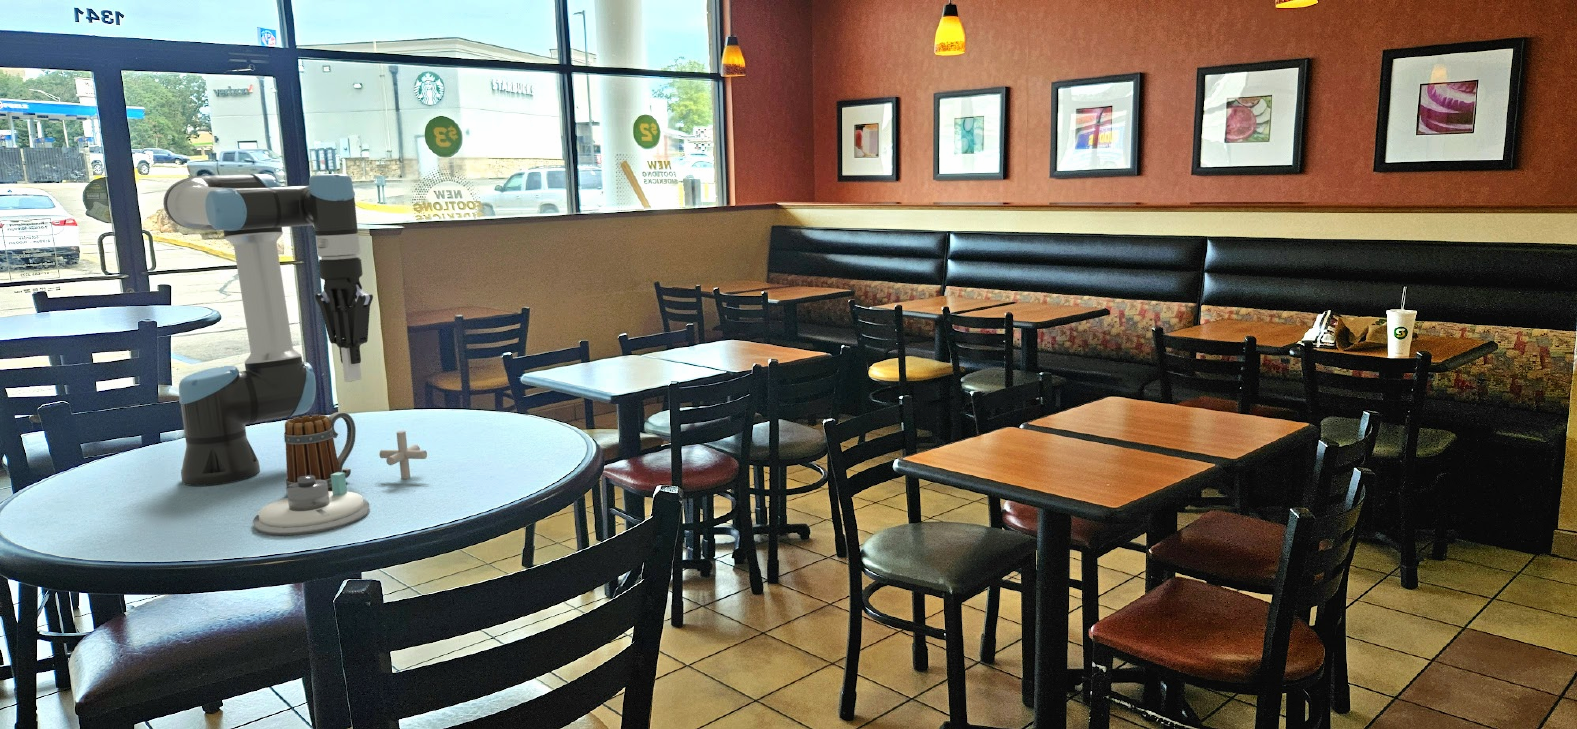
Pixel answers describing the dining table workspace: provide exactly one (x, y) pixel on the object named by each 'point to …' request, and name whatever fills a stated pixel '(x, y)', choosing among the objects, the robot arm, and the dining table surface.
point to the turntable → (336, 509)
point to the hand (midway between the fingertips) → (353, 380)
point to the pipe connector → (403, 454)
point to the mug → (316, 447)
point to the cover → (307, 494)
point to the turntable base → (312, 528)
